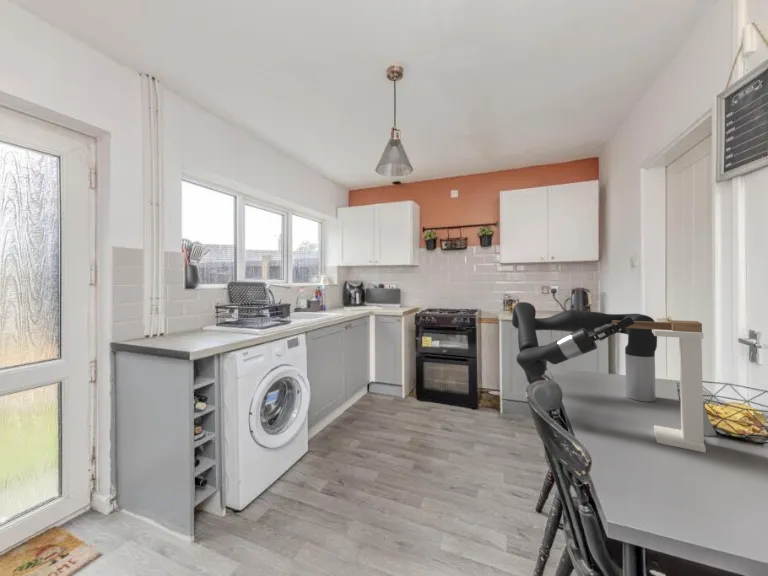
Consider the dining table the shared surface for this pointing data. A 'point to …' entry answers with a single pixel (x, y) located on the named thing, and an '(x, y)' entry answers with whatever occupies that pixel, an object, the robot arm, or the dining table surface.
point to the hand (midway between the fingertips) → (632, 319)
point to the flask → (707, 423)
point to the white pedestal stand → (687, 394)
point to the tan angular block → (667, 325)
